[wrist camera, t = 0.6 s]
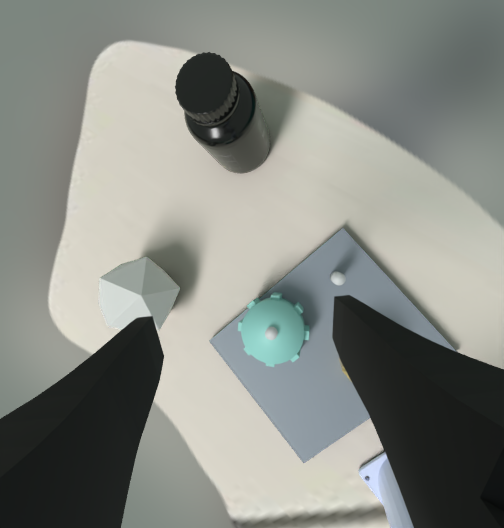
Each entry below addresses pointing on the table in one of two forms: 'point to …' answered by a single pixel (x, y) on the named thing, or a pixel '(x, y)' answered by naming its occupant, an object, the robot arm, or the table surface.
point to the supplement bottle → (223, 113)
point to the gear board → (312, 343)
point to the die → (136, 293)
